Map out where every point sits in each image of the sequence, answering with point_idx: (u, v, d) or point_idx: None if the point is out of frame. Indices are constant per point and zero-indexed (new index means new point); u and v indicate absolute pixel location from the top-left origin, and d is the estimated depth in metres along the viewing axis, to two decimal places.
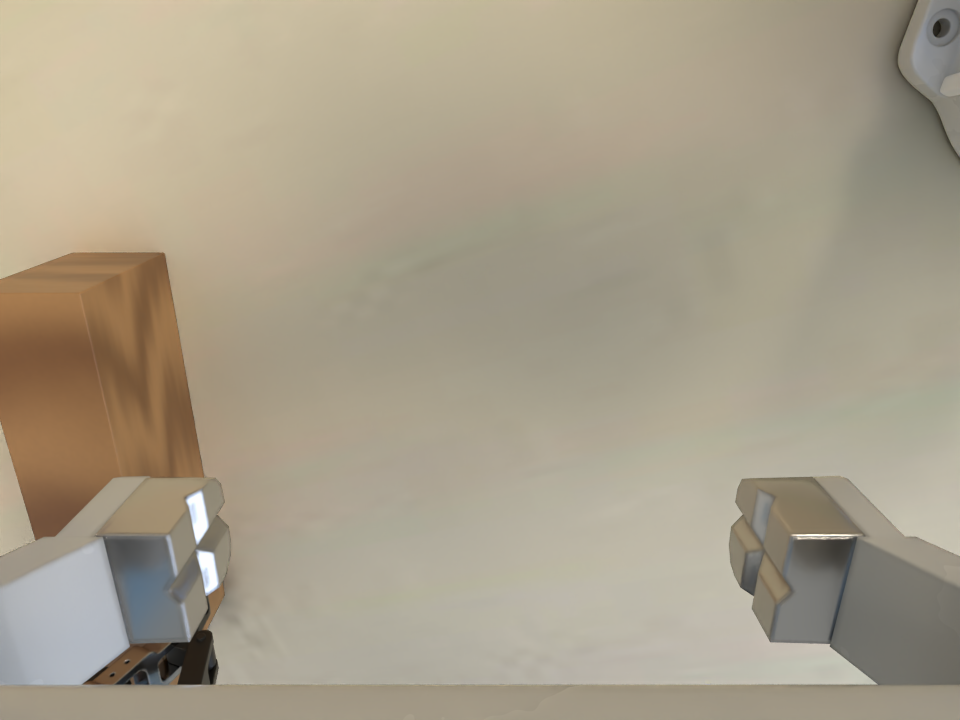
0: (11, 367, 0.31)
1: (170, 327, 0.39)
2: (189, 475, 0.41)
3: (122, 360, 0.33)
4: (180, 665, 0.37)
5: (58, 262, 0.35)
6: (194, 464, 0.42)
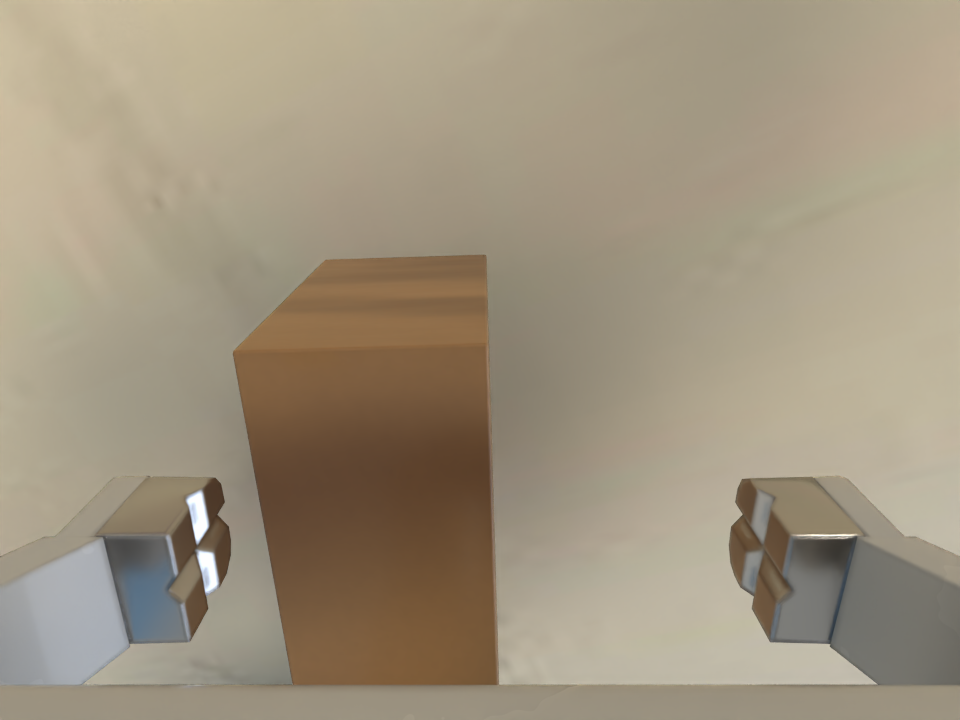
0: (315, 499, 0.15)
1: None
2: None
3: None
4: None
5: (330, 277, 0.19)
6: None
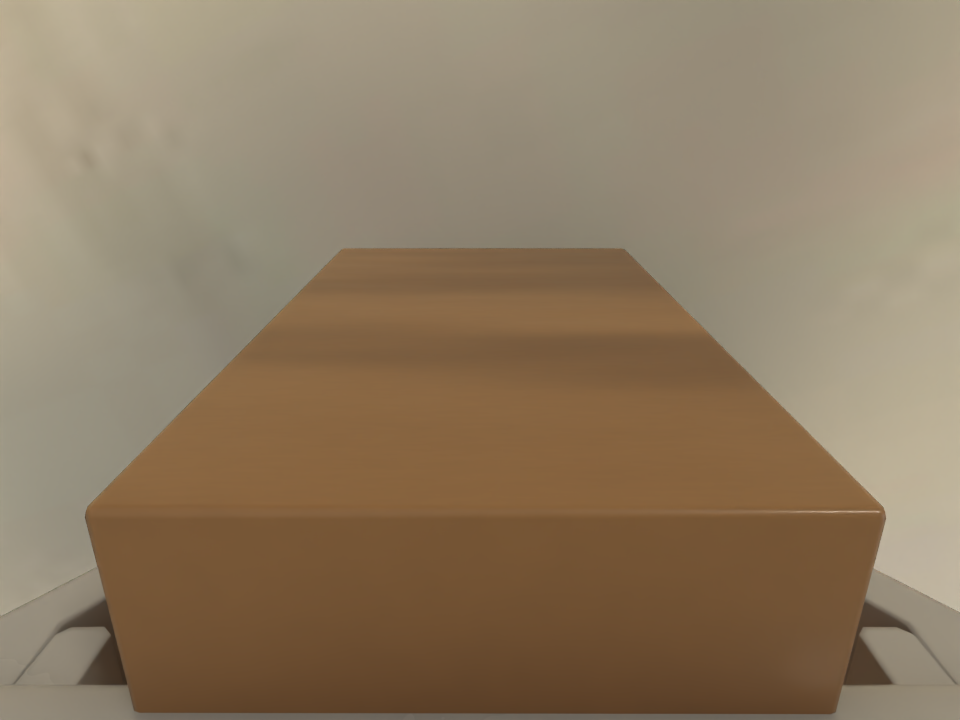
0: None
1: None
2: None
3: None
4: None
5: (355, 280, 0.10)
6: None
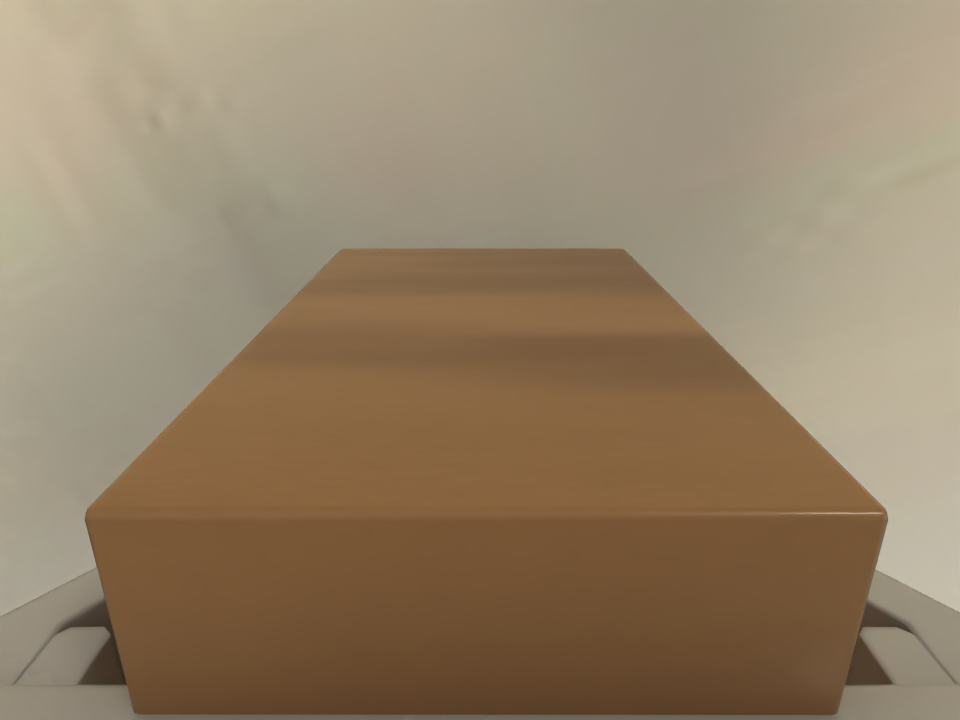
0: None
1: None
2: None
3: None
4: None
5: (355, 281, 0.10)
6: None
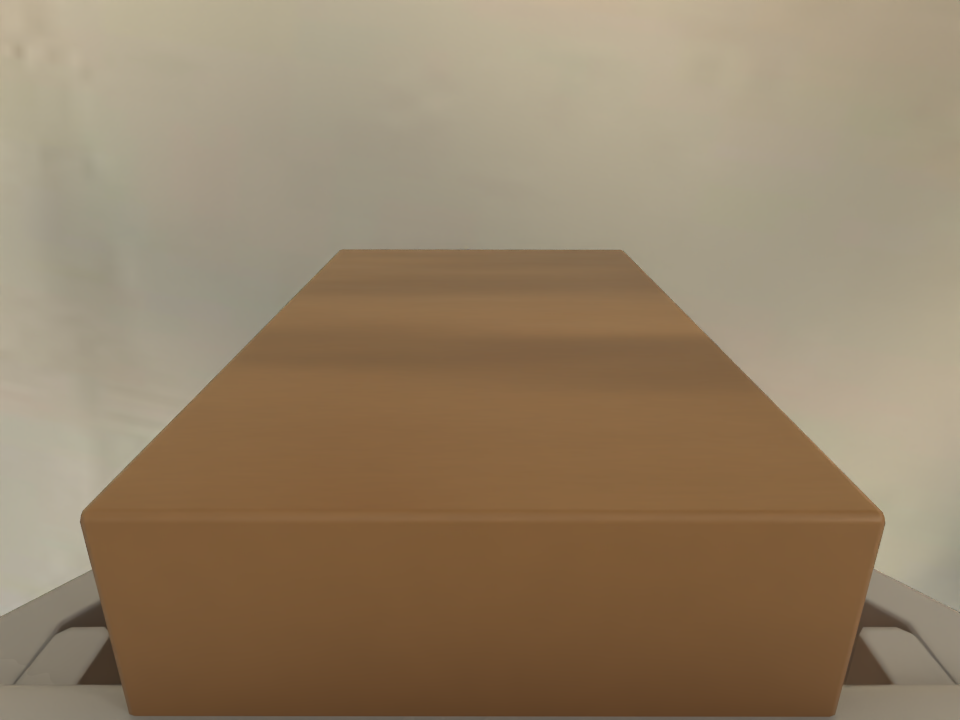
0: None
1: None
2: None
3: None
4: None
5: (353, 282, 0.10)
6: None
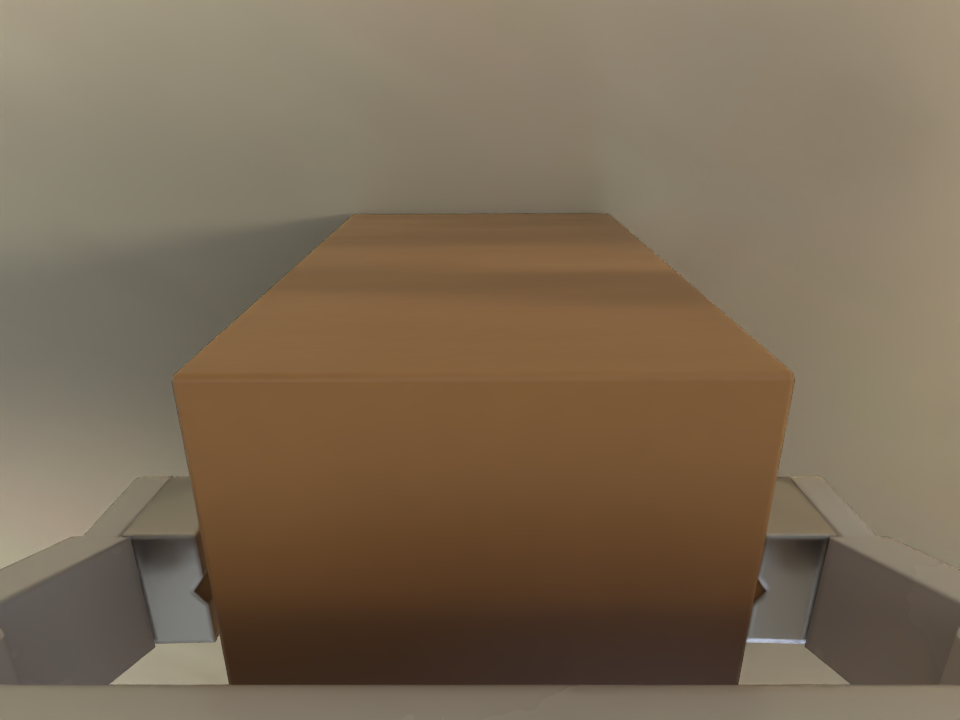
0: None
1: None
2: None
3: None
4: None
5: (367, 237, 0.11)
6: None
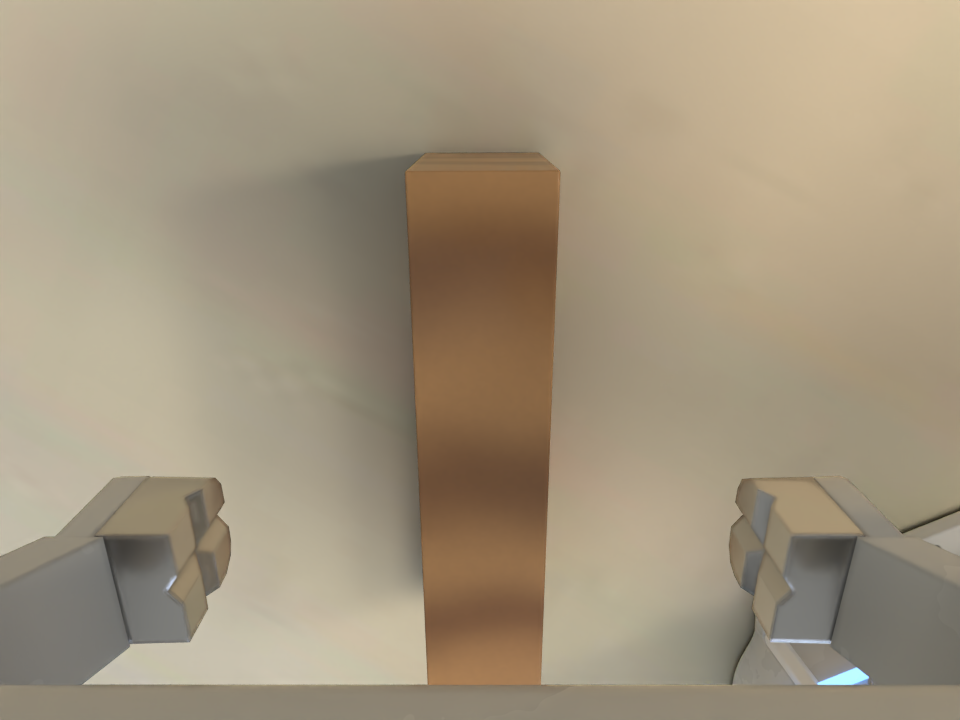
0: (445, 274, 0.24)
1: None
2: None
3: None
4: None
5: (436, 157, 0.28)
6: None
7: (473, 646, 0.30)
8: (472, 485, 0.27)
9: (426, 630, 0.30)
